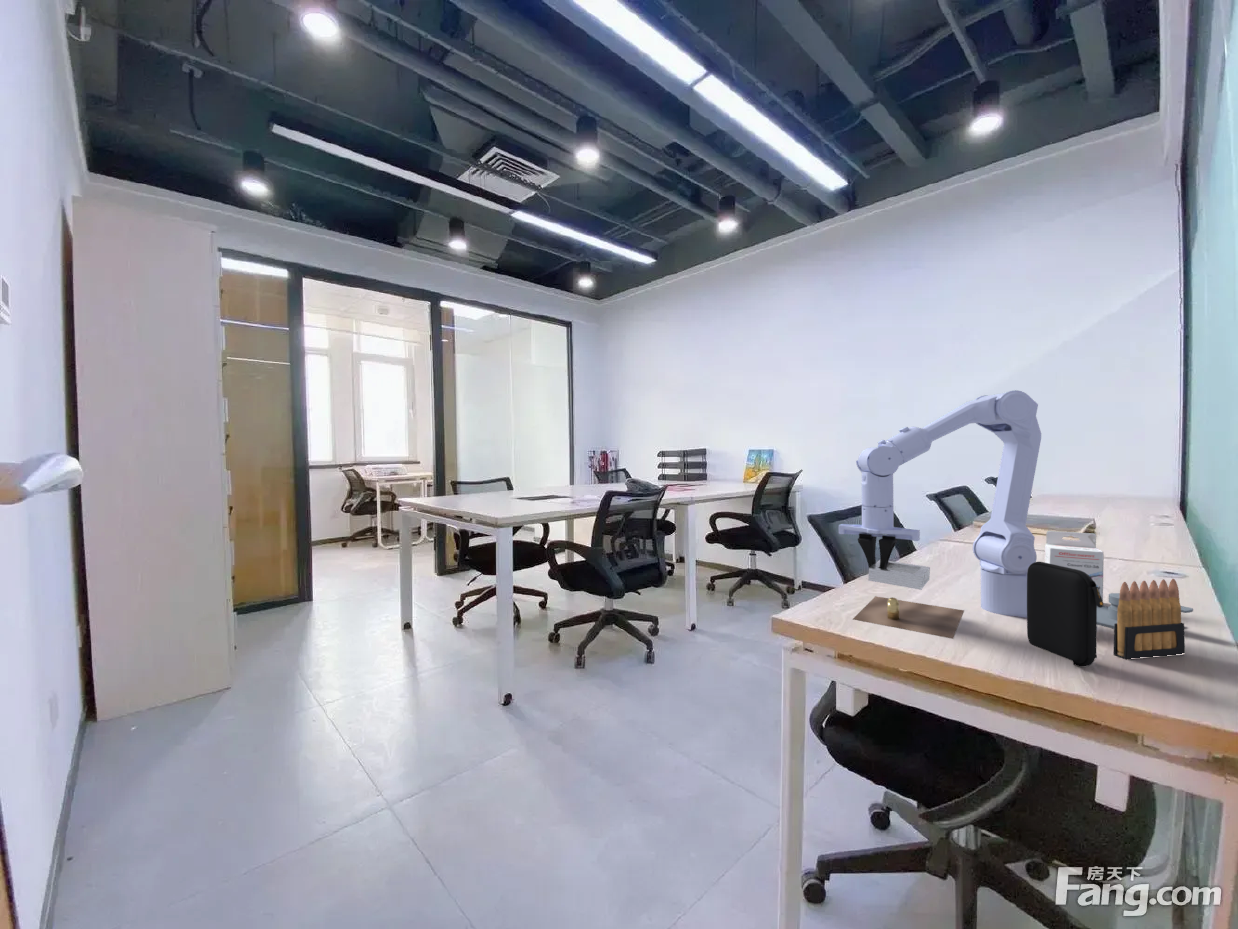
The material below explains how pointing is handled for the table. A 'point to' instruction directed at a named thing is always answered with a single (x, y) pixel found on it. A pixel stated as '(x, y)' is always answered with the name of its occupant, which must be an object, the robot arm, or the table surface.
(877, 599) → the board
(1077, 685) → the table surface
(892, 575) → the steel link
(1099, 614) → the shower valve
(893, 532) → the robot arm
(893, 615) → the keeper post
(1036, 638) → the carrying case or bag
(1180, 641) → the ammunition clip
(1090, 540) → the ink cartridge box
